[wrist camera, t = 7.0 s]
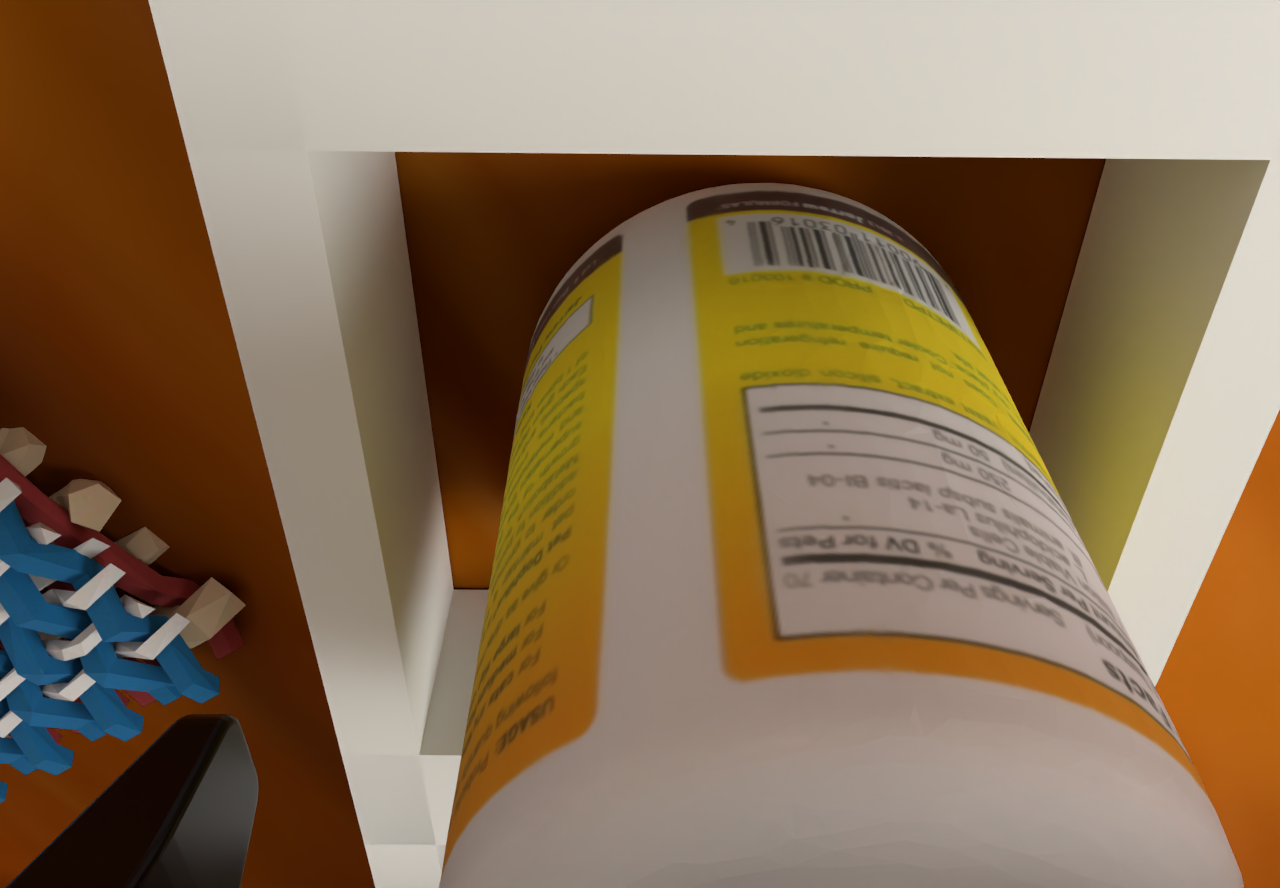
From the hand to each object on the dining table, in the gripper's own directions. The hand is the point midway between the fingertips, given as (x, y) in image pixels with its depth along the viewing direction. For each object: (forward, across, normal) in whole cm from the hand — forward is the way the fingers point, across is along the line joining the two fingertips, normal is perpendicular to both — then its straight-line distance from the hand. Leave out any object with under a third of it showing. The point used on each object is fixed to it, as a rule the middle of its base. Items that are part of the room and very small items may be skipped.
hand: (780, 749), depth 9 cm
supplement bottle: (+6, 0, 0) cm, 6 cm away
